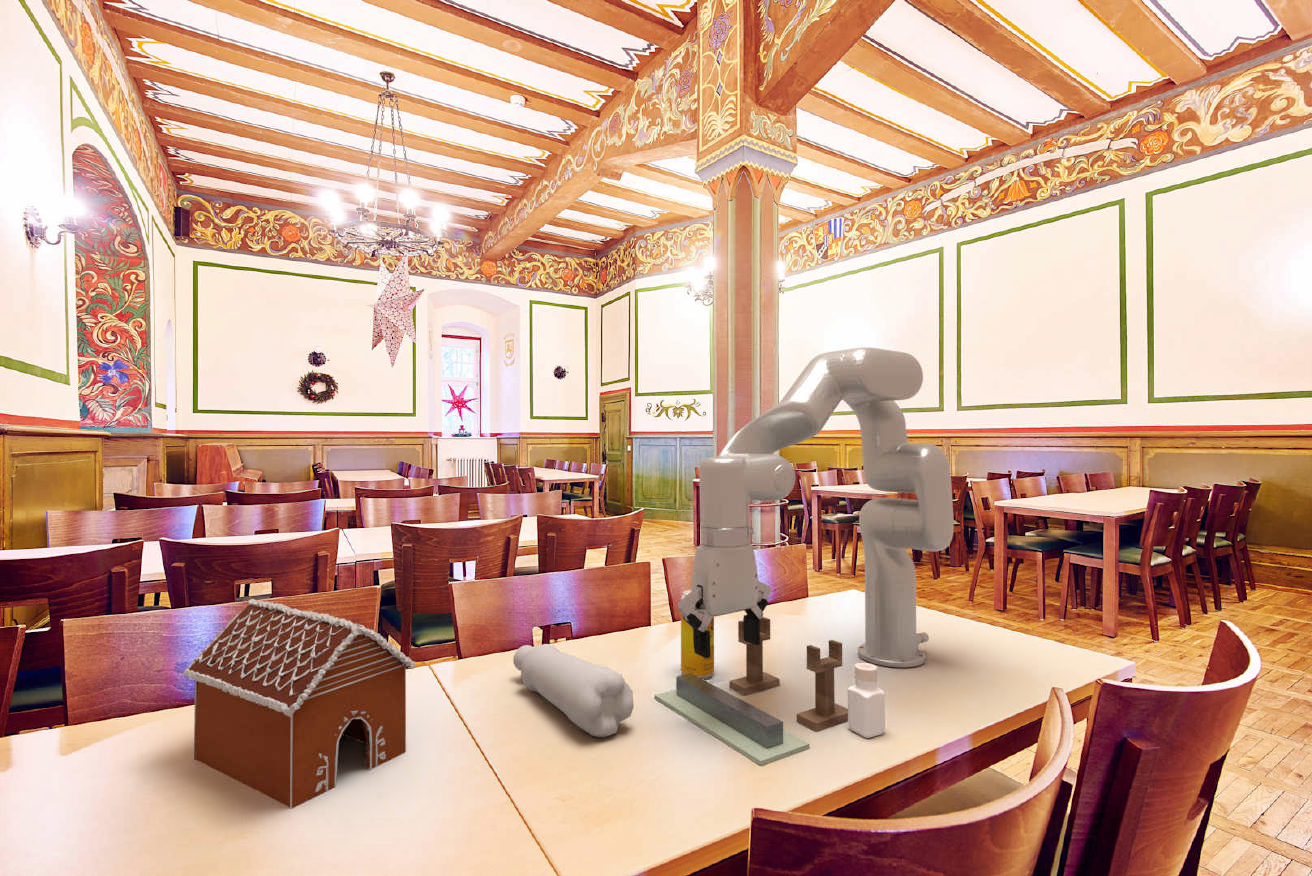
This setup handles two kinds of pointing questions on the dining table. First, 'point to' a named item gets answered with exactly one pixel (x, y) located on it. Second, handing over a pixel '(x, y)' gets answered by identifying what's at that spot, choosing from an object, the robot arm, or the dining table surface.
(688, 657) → the beer can
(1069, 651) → the dining table surface
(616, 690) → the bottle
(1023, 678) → the dining table surface
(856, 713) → the salt shaker
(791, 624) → the dining table surface
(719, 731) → the board
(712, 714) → the rail
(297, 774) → the gingerbread house
